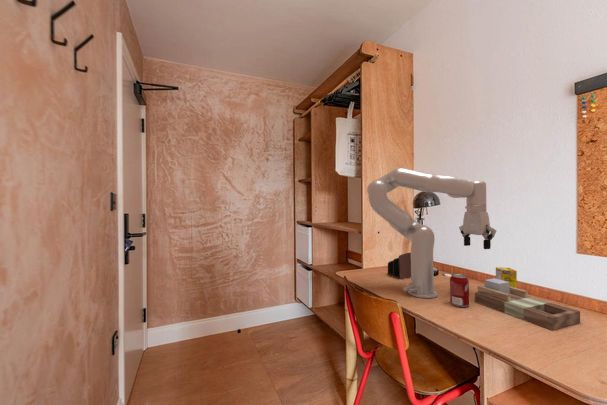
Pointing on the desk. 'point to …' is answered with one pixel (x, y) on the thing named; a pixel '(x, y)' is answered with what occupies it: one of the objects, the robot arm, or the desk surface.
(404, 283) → the desk surface
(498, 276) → the supplement box
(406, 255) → the letter holder
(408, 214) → the robot arm
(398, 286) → the desk surface
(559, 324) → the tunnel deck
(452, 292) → the soda can
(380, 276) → the desk surface
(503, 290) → the block
